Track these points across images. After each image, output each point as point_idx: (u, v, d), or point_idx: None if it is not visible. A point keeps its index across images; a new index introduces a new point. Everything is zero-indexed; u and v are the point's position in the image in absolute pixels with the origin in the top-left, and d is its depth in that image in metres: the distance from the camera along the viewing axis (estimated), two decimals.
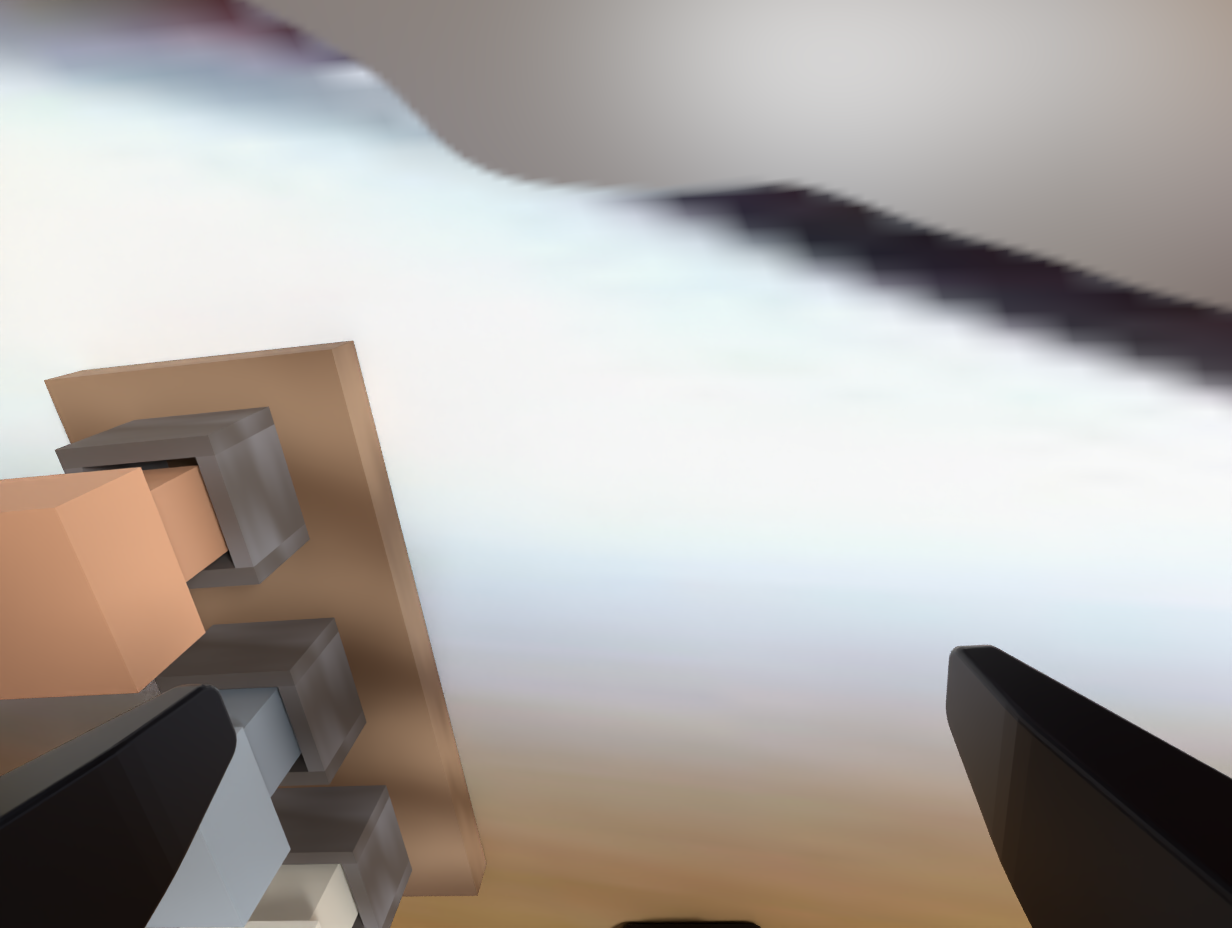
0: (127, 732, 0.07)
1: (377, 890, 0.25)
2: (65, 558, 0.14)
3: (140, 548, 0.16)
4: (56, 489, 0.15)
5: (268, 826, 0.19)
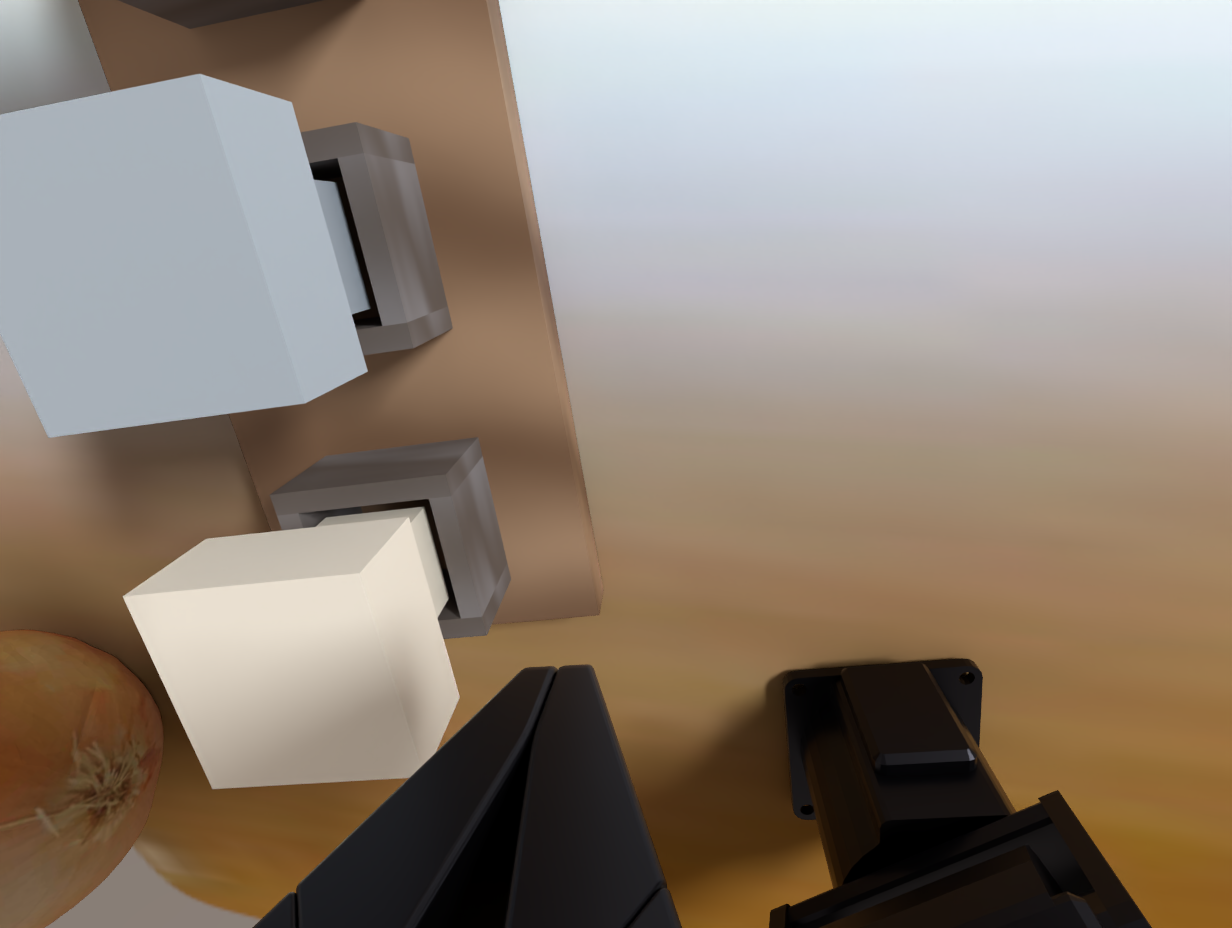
0: (523, 716, 0.07)
1: (475, 559, 0.18)
2: None
3: None
4: None
5: (335, 298, 0.12)
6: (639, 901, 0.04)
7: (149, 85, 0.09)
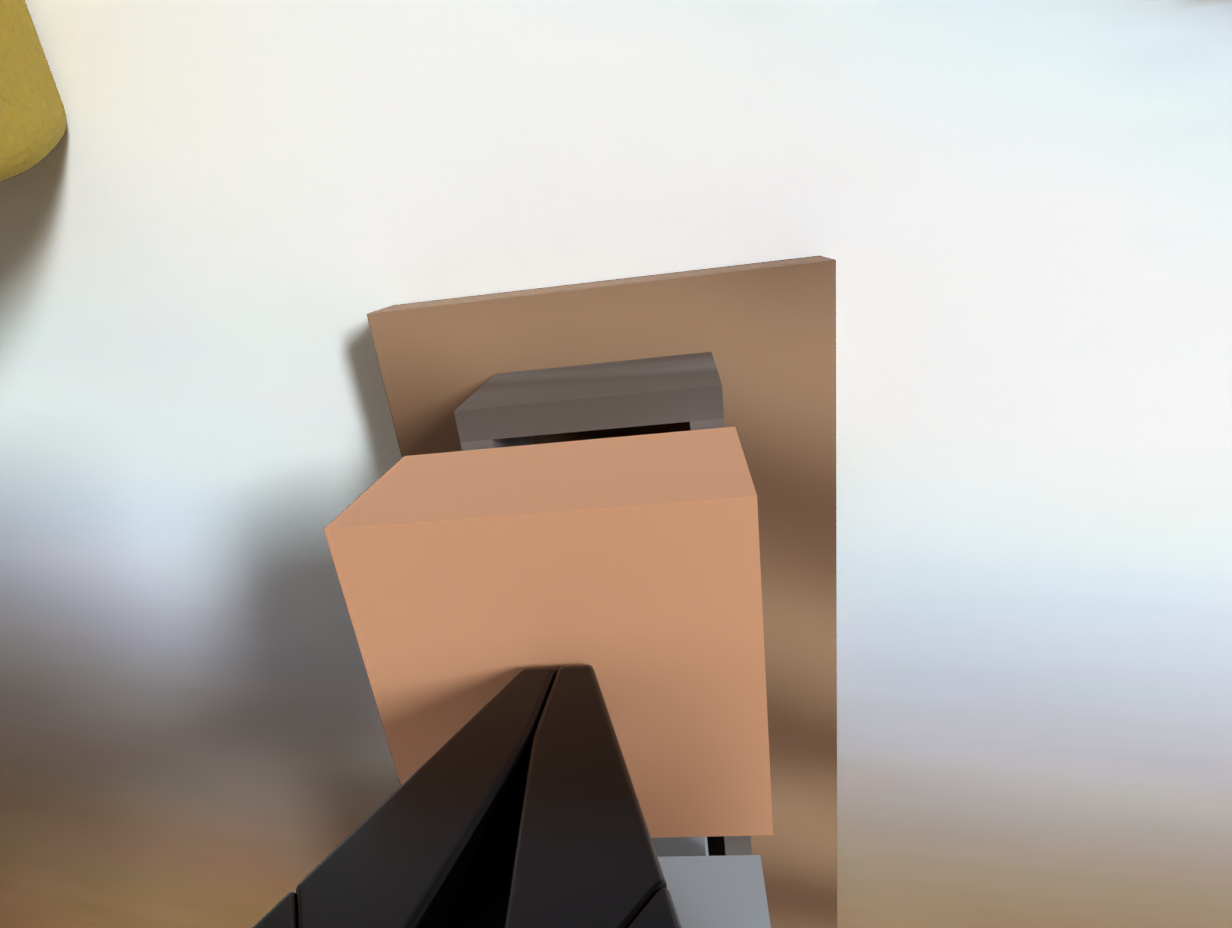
0: (523, 716, 0.07)
1: None
2: (735, 596, 0.07)
3: None
4: (649, 463, 0.08)
5: None
6: (639, 901, 0.04)
7: None
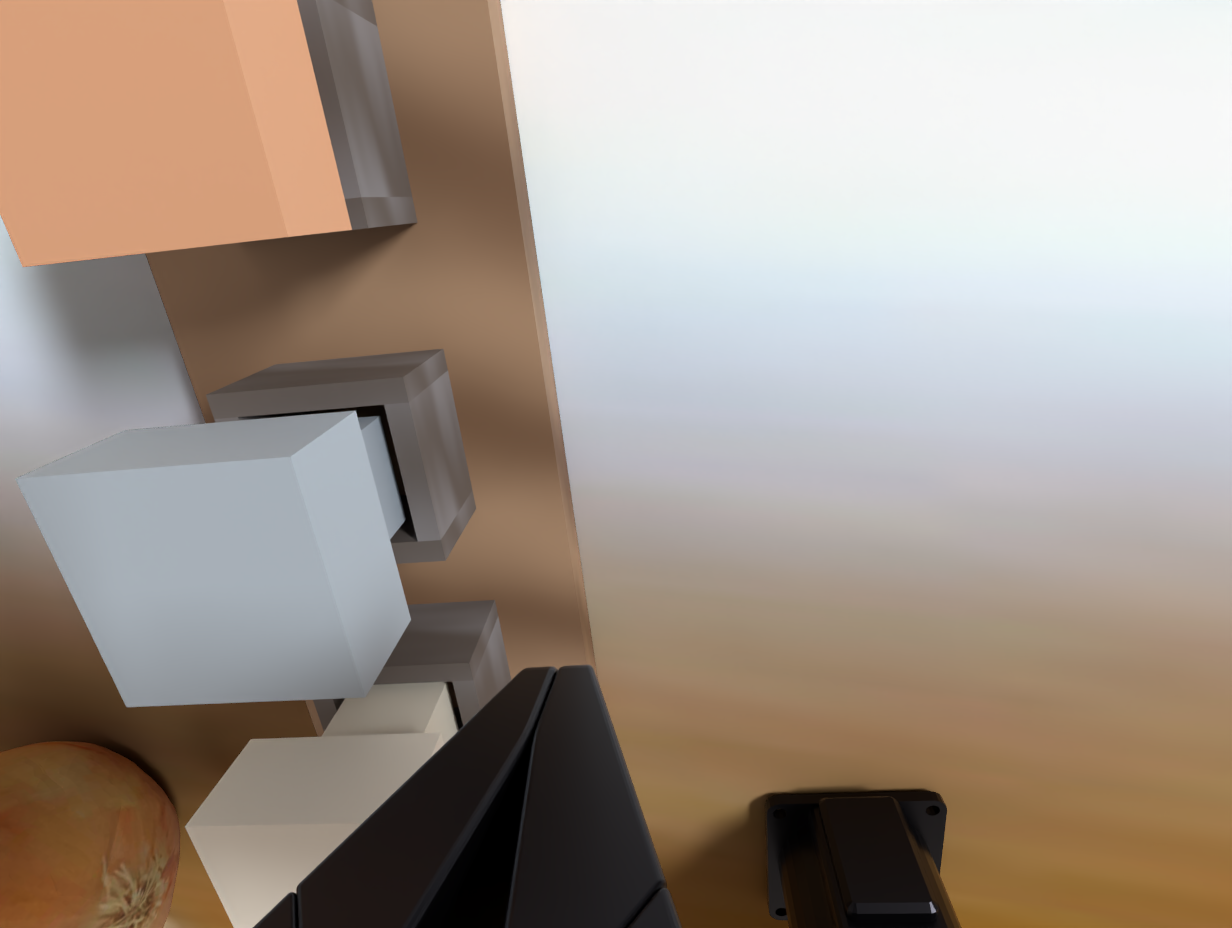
0: (523, 716, 0.07)
1: None
2: None
3: (284, 42, 0.11)
4: None
5: (387, 572, 0.13)
6: (639, 901, 0.04)
7: (243, 459, 0.10)
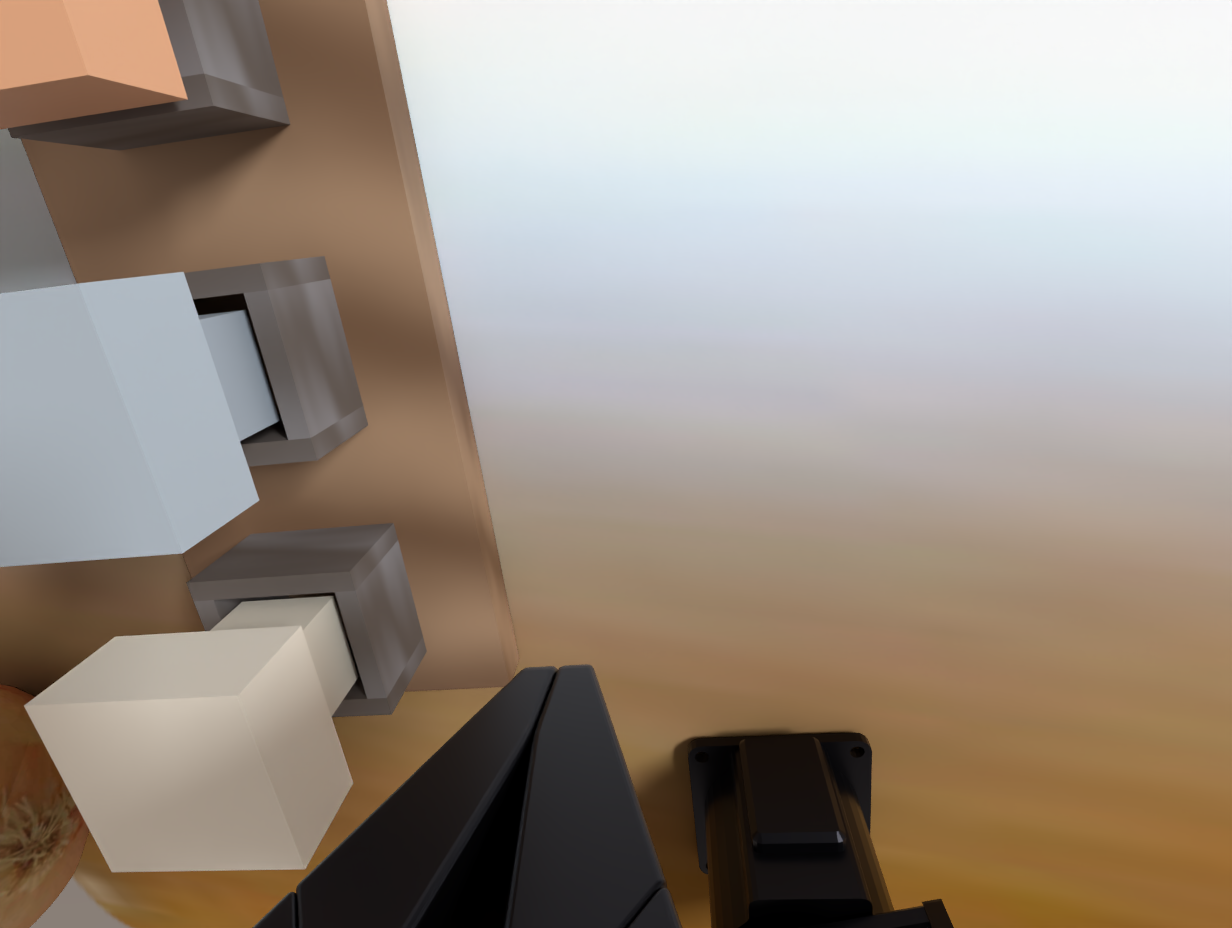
0: (523, 716, 0.07)
1: (382, 644, 0.19)
2: None
3: None
4: None
5: (224, 443, 0.13)
6: (639, 901, 0.04)
7: (34, 289, 0.10)
